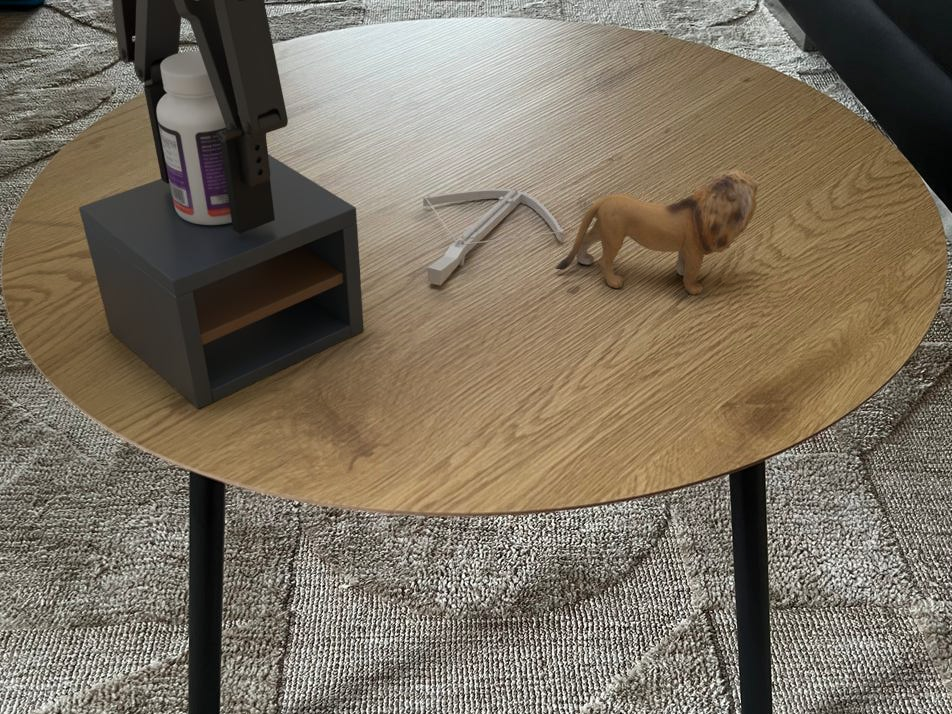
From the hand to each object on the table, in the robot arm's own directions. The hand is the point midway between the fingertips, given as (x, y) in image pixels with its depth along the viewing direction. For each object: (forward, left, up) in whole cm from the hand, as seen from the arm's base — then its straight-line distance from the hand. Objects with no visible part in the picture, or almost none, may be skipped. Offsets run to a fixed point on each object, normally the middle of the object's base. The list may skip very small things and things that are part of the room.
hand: (216, 199), depth 73 cm
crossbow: (+2, +22, -11) cm, 25 cm away
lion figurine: (+15, +29, -11) cm, 34 cm away
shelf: (0, 0, -11) cm, 11 cm away
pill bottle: (0, 0, -1) cm, 1 cm away
